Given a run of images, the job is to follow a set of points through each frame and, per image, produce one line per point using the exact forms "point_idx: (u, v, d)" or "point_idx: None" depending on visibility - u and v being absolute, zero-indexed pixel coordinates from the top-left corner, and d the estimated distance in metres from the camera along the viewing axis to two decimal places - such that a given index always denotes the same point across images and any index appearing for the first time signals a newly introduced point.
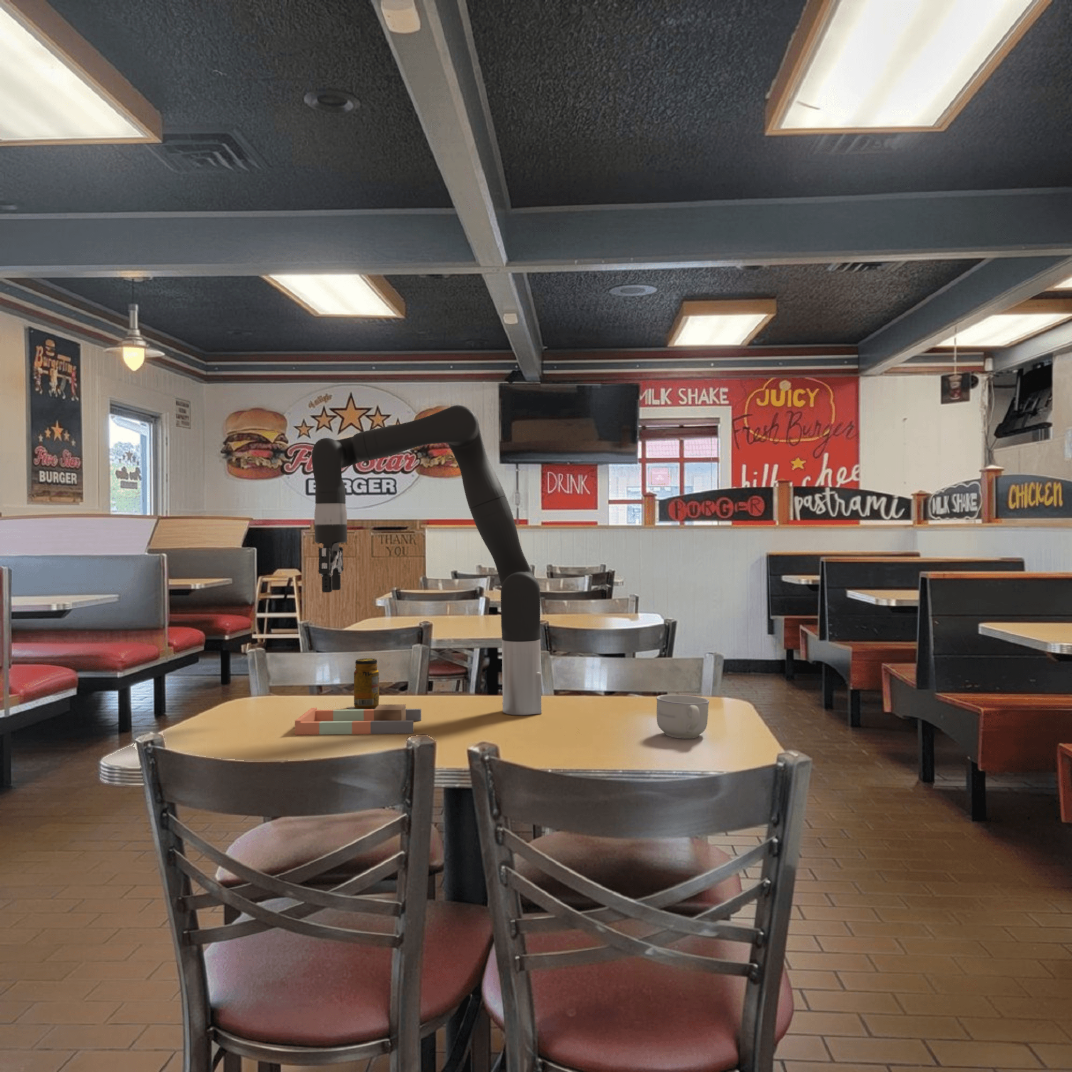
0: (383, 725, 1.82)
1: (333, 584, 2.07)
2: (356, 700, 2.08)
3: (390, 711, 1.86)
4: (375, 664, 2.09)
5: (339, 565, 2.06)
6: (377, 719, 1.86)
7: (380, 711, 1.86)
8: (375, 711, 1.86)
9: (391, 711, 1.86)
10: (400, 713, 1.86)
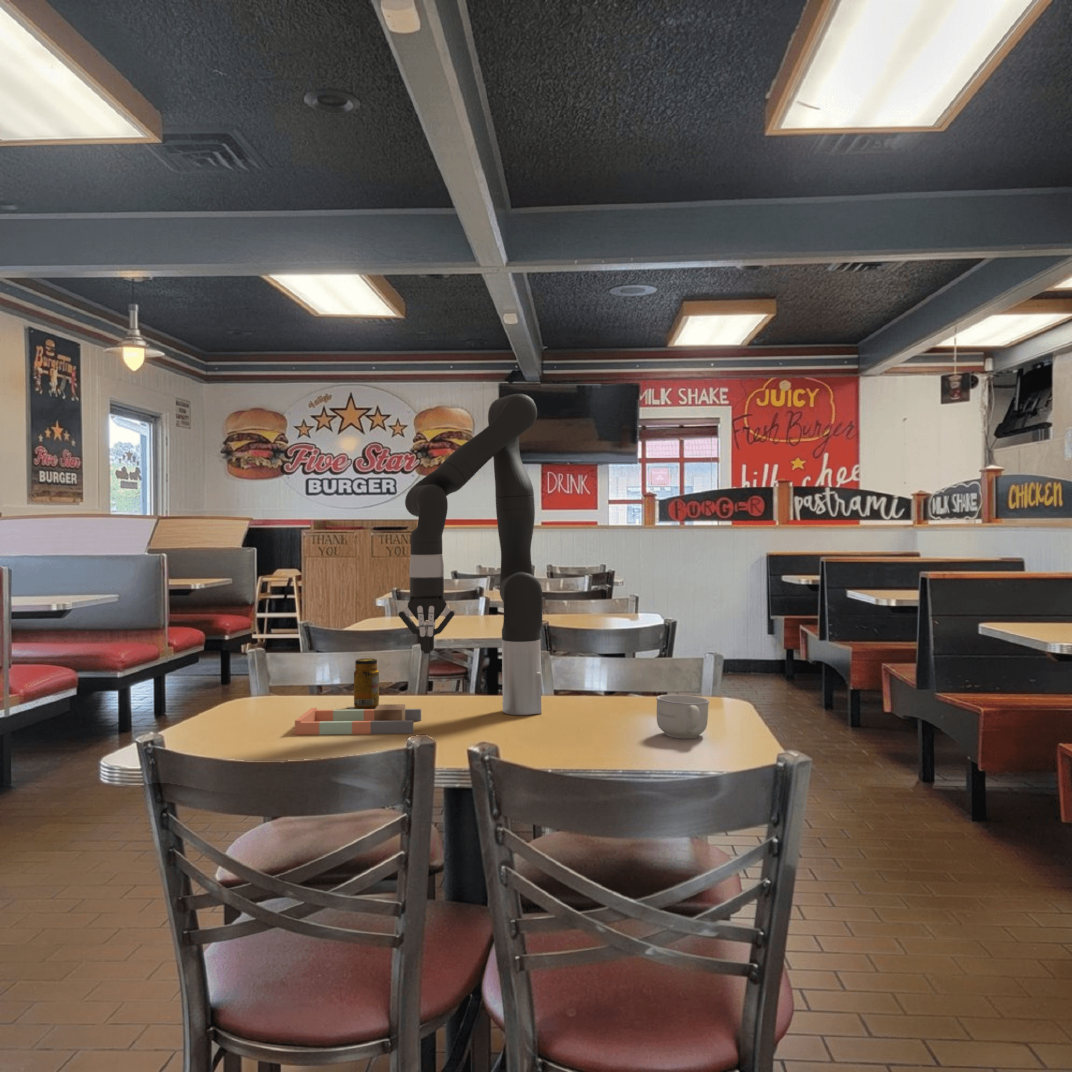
0: (383, 725, 1.82)
1: None
2: (356, 700, 2.08)
3: (390, 711, 1.86)
4: (375, 664, 2.09)
5: (425, 621, 1.90)
6: (377, 719, 1.86)
7: (380, 711, 1.86)
8: (375, 711, 1.86)
9: (391, 711, 1.86)
10: (400, 713, 1.86)
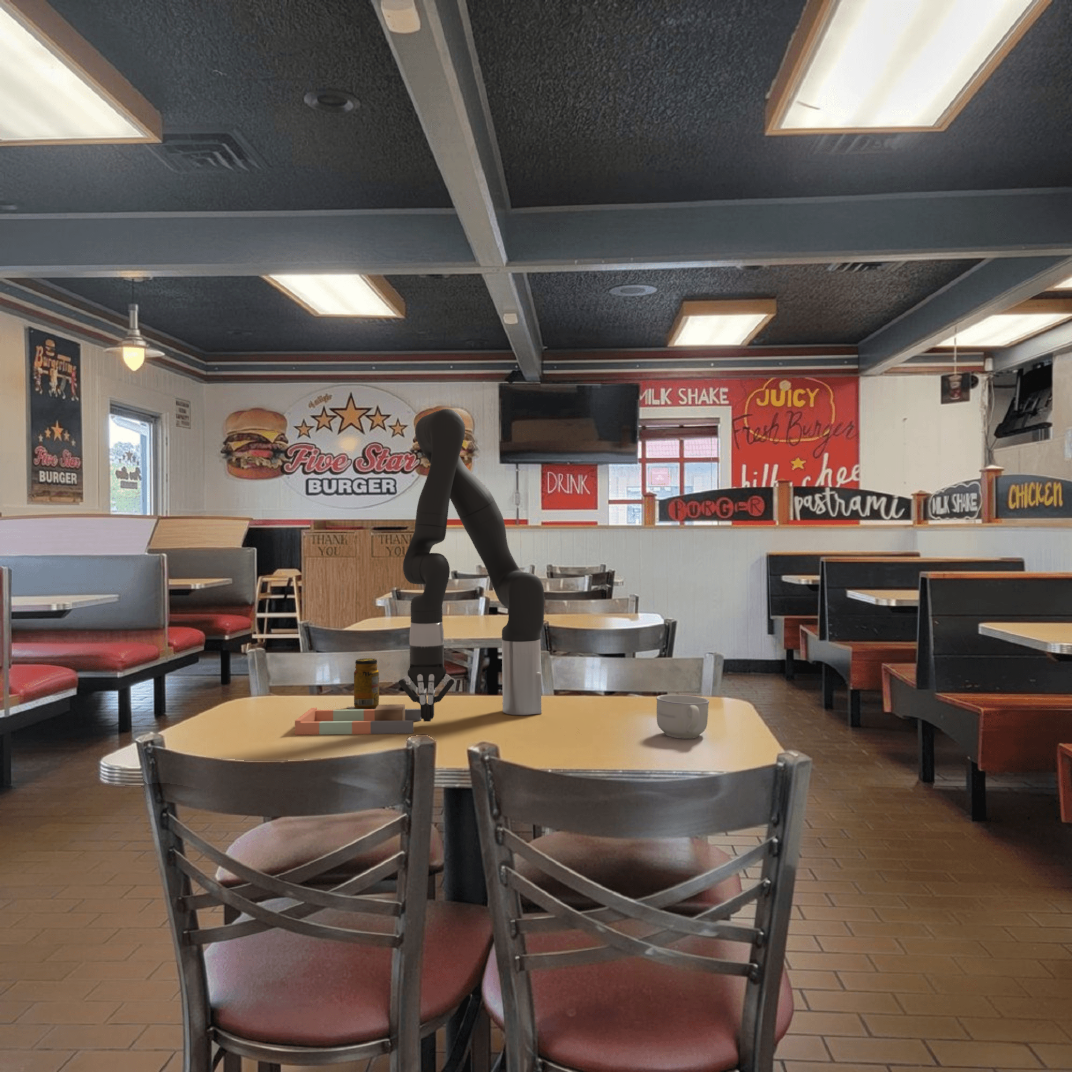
0: (383, 725, 1.82)
1: None
2: (356, 700, 2.08)
3: (391, 711, 1.86)
4: (375, 664, 2.09)
5: None
6: (378, 719, 1.86)
7: (381, 711, 1.86)
8: (376, 711, 1.86)
9: (392, 711, 1.86)
10: (401, 713, 1.86)
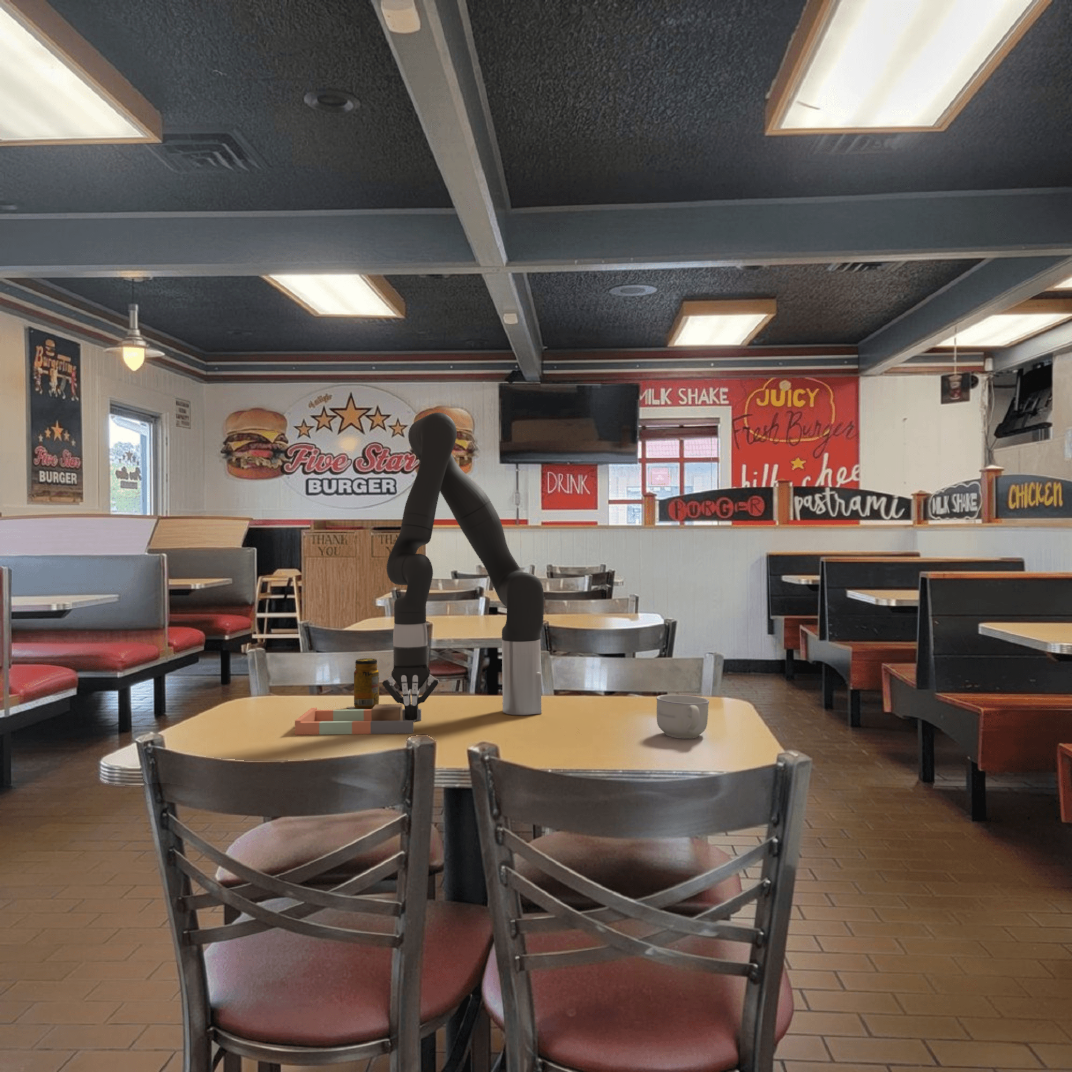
0: (383, 725, 1.82)
1: None
2: (356, 700, 2.08)
3: (388, 711, 1.86)
4: (375, 664, 2.09)
5: (409, 689, 1.90)
6: (375, 719, 1.86)
7: (378, 711, 1.86)
8: (373, 711, 1.86)
9: (389, 711, 1.86)
10: (398, 713, 1.87)
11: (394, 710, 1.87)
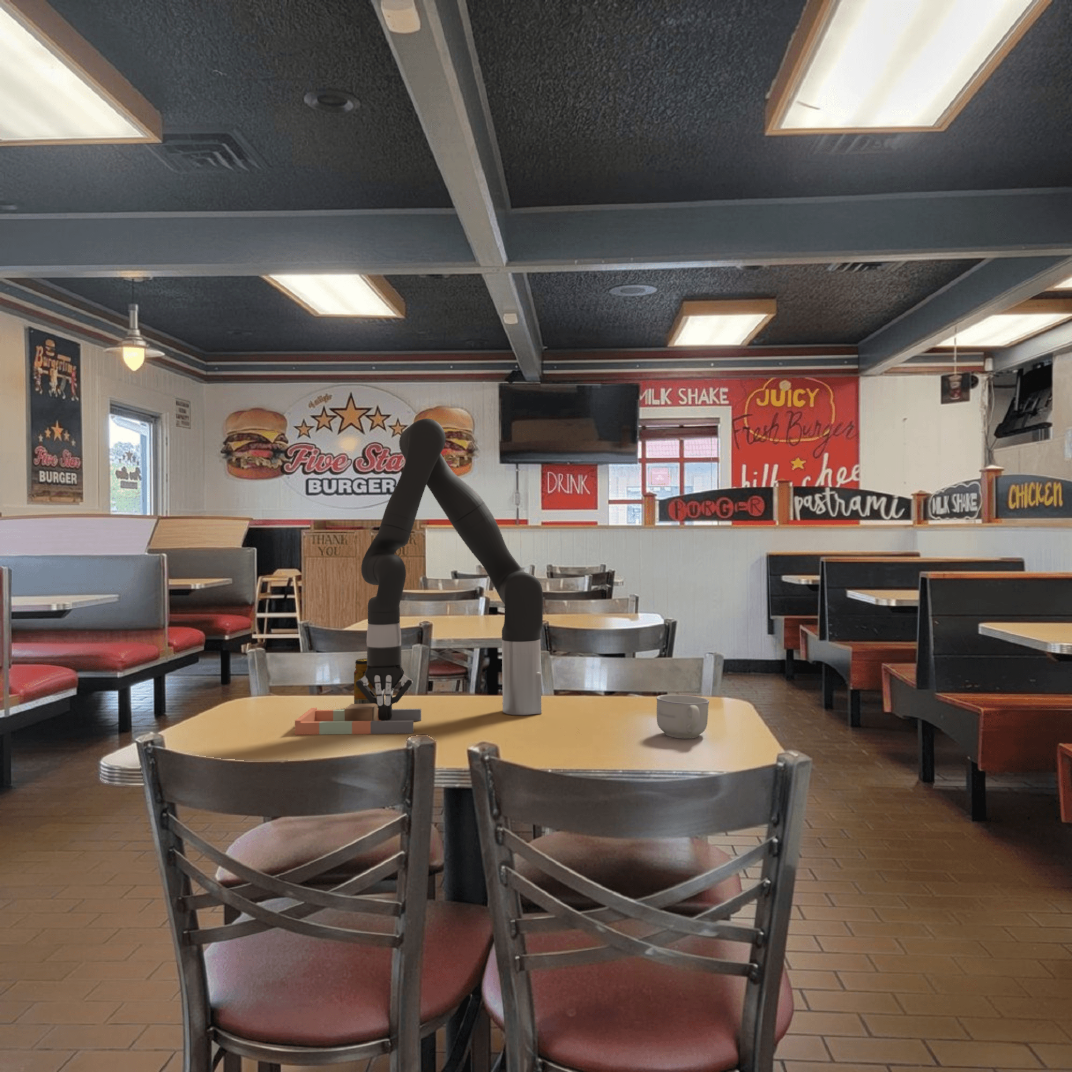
0: (383, 725, 1.82)
1: None
2: (356, 700, 2.08)
3: (361, 710, 1.87)
4: None
5: (383, 689, 1.90)
6: (348, 718, 1.87)
7: (351, 710, 1.87)
8: (346, 710, 1.87)
9: (362, 710, 1.87)
10: (370, 712, 1.87)
11: (367, 710, 1.87)
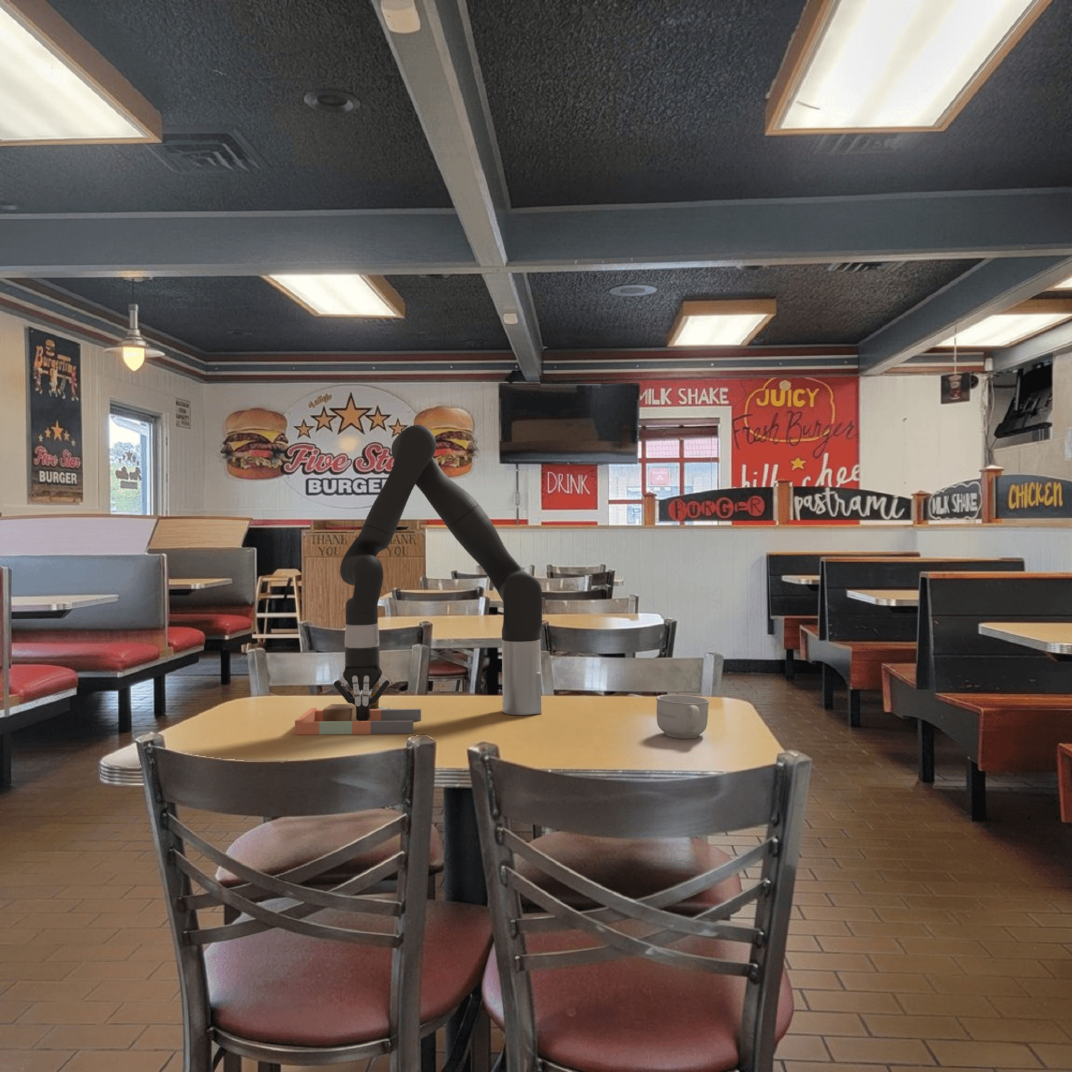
0: (383, 725, 1.82)
1: None
2: None
3: (338, 711, 1.87)
4: None
5: None
6: (326, 718, 1.88)
7: (329, 711, 1.88)
8: (324, 710, 1.88)
9: (339, 711, 1.87)
10: (348, 713, 1.87)
11: (345, 710, 1.87)
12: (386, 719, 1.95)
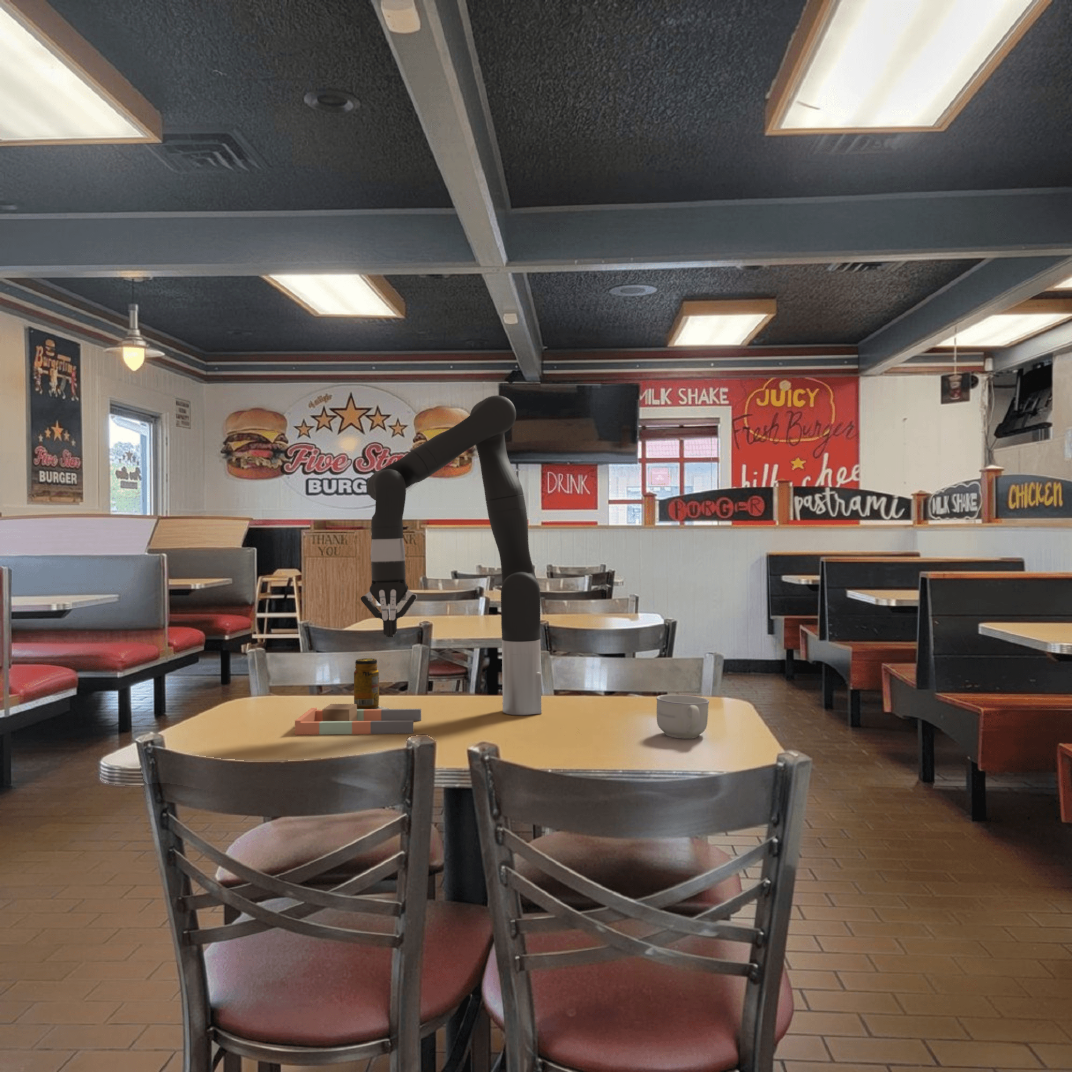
0: (383, 725, 1.82)
1: None
2: (356, 700, 2.08)
3: (338, 710, 1.87)
4: (375, 664, 2.09)
5: (388, 605, 1.92)
6: (326, 718, 1.88)
7: (328, 710, 1.88)
8: (324, 710, 1.88)
9: (339, 710, 1.87)
10: (348, 712, 1.87)
11: (344, 710, 1.87)
12: (386, 719, 1.95)
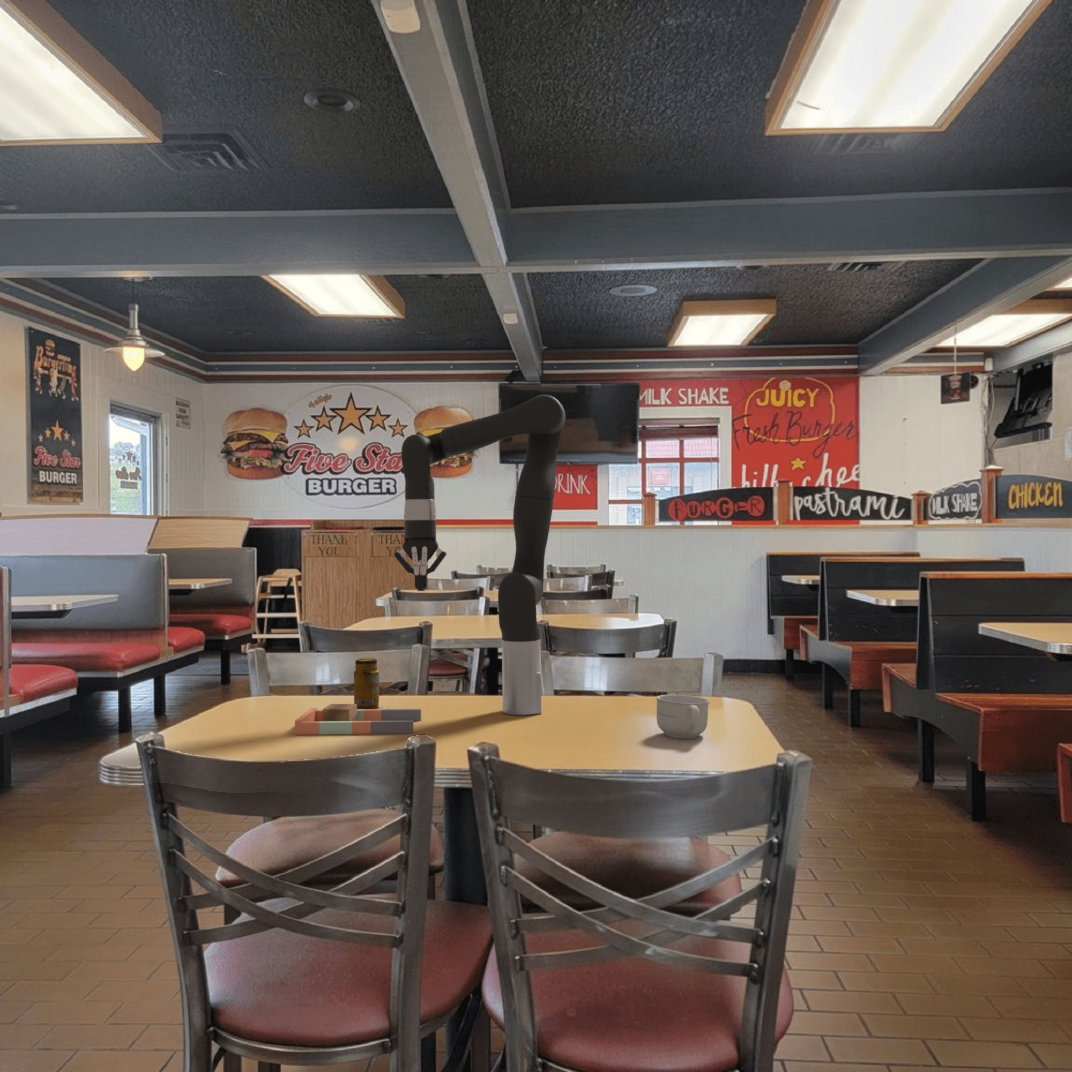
0: (383, 725, 1.82)
1: None
2: (356, 700, 2.08)
3: (338, 710, 1.87)
4: (375, 664, 2.09)
5: (419, 562, 2.06)
6: (326, 718, 1.88)
7: (328, 710, 1.88)
8: (324, 710, 1.88)
9: (339, 710, 1.87)
10: (348, 712, 1.87)
11: (344, 710, 1.87)
12: (386, 719, 1.95)
